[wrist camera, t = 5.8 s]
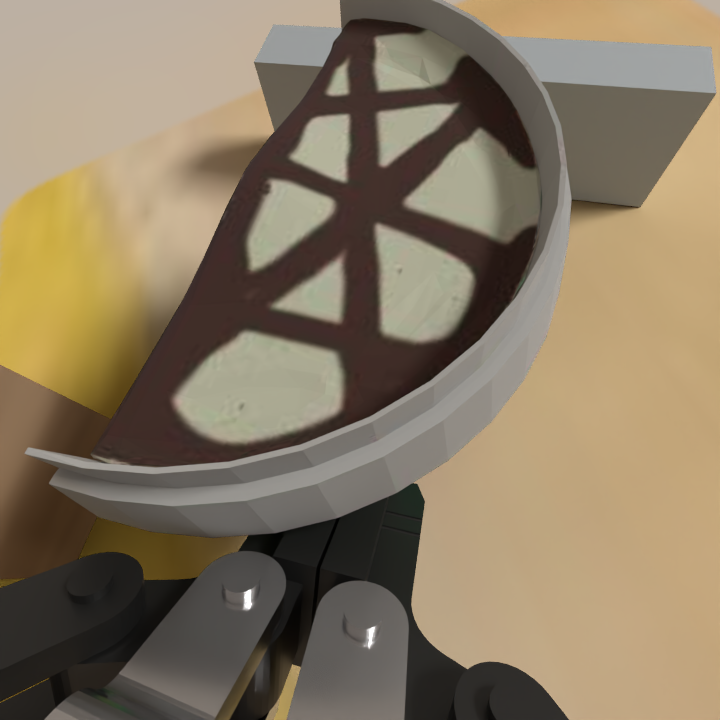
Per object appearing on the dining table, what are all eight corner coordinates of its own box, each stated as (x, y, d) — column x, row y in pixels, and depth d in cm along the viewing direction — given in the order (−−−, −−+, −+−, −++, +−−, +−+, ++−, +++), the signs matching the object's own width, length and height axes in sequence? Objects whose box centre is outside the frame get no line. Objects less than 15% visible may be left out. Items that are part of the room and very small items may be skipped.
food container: (436, 619, 13) (534, 721, 4) (247, 546, 14) (-7, 496, 5) (514, 284, 18) (638, -13, 9) (369, 251, 19) (347, -39, 10)
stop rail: (639, 166, 20) (711, 46, 15) (640, 207, 19) (716, 93, 14) (299, 132, 22) (273, 24, 18) (285, 167, 22) (254, 61, 17)
